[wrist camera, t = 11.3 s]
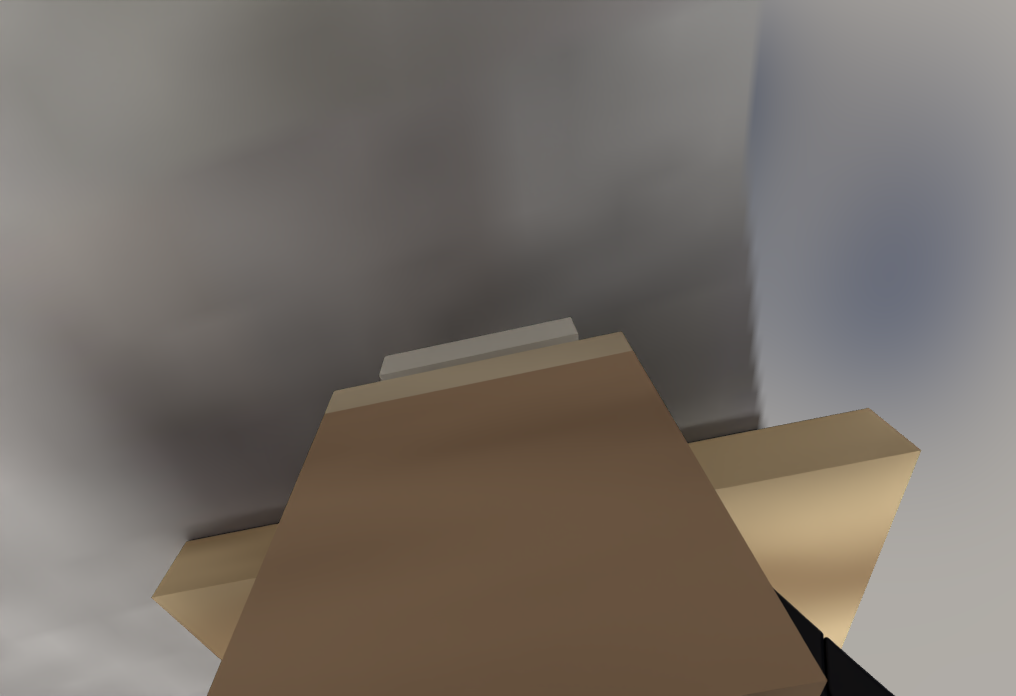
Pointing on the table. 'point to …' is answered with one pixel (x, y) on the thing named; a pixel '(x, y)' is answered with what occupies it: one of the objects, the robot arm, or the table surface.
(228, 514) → the table surface
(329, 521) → the block
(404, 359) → the white square tile
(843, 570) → the oak board
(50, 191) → the table surface
